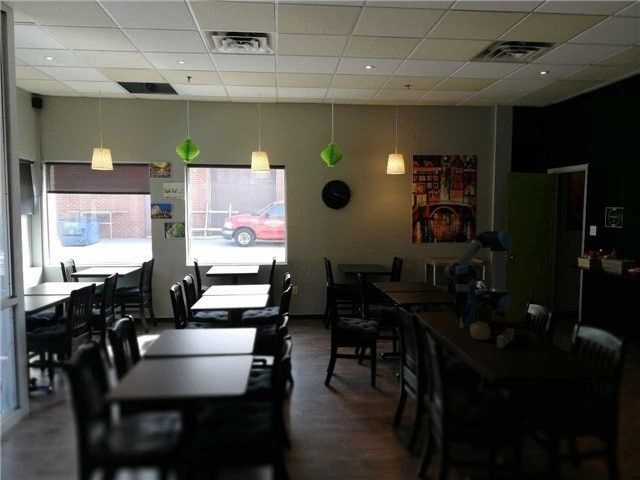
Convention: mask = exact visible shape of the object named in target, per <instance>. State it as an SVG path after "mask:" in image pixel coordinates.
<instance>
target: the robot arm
mask: <svg viewBox="0 0 640 480" xmlns="http://www.w3.org/2000/svg"><path fill="white" fill-rule="evenodd" d="M512 245H513V239H512V236H511V234H510V233H509V232H507V231H503V230H498V231H497V230H491V231H490V230H485V231H483V232H480V233H478V234H476V235H475V236H474V237H473V238H472V239H471V240H470V242H469V245H468V246H467V247H466V248H465V250H464V251H463V252H462V253H461V254H460V256H459V257H458V258H457V259H456V260H455V261H454V262H453V263H452V265H447V266H445V268H444V270H443V271H444V276H445V277H447V278H451V279H452V278H453V279H455V298H454V299H453V300H451V301H450V302H451V304H452V307H453V310H454V311H453V312H454V315H455V317H457V318H458V319H457V321H458V323H459V329H463V328H465V326H464V323H465V317H468V315H469V311H470V307H471V305H472V302H470V301H469V299H468V298H469V281H472V280H477V279H478V278H479V277H480V275H481V273H480V270H479V268H477V267H469V266H468V265H469V264H470V263H471V261H472V260H473V259H474V258H476V257H475V256H476V255H477V254H478V253H479V252H482V251H483V250H484V249H488V248H489V251H490V252H491V253H492V254H491V255H492V256H491V257H492V258H491V259H492V263H491V266H492V267H491V269H492V270H491V272H492V273H491V275H492V277H491V288H490V289H488V288H481V289H475V299H476V300H477V301H479V302H481V301H483V302H488V303H487V305H490V306H492V307H491V310H496V311H500V312H501V311H503V312H504V311H505V312H506V311H507V310H509V309H510V306H512V305H511V304H512V296H511V294H509V290H508V289H506V286H507V285H506V283H507V280H506V278H507V275H506V274H507V273H506V272H507V270H506V269H507V267H506V266H507V261H506V260H507V253H508V252H509V249H511V247H512ZM467 303H468V306H467V310H466V314H465V307H466V304H467ZM492 319H493V318H492V317H491V324H492V322H493V320H492Z"/></svg>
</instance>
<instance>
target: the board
mask: <svg viewBox="0 0 640 480" xmlns="http://www.w3.org/2000/svg"><path fill="white" fill-rule="evenodd" d="M514 339H515V329H514V328H507V329H505V330H504V331H502V332H501V333H500V334H499V335H498V336H496V348H497V349H503V348H504V347H506V346H507V345H508V344H509V343H511V342H512V341H514Z"/></svg>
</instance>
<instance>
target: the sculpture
mask: <svg viewBox="0 0 640 480" xmlns="http://www.w3.org/2000/svg"><path fill="white" fill-rule="evenodd" d="M469 332H470V336H471V338H473V339H474V340H478V341H487V340H488V339H490V336H491V334H490V328H489V327H488V324H487V323H485V322H479V321H478V322H476V323H473V324H470V328H469Z"/></svg>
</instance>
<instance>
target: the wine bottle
mask: <svg viewBox="0 0 640 480" xmlns="http://www.w3.org/2000/svg"><path fill="white" fill-rule="evenodd" d="M475 290H476V286H475V282H472V281H471V282H469V283H468V299H469V301H470V302H472V305H471V307H470V311H469V315H468V317H465V323H464V328H465V327H466V328H469V329H470V324H473V323H475V322H474V305H478V304H480V302H479V301H477V300H476V299H475ZM467 306H468V303H467V304H466V307H465V314H466V310H467Z"/></svg>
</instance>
